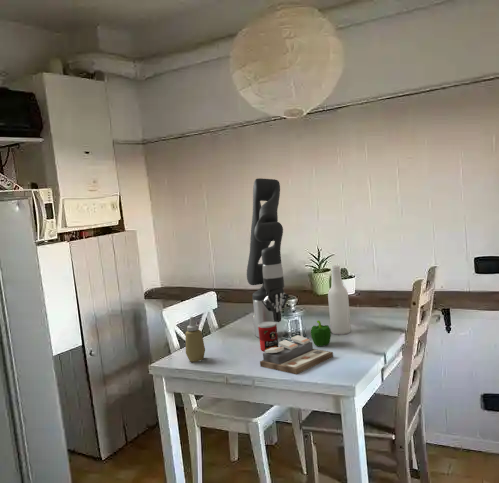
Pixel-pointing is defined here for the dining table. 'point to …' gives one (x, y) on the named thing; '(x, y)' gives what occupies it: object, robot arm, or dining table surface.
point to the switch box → (295, 358)
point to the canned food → (268, 335)
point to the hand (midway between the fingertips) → (277, 321)
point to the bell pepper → (321, 334)
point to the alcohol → (338, 304)
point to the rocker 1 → (274, 350)
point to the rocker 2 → (288, 344)
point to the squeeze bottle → (194, 342)
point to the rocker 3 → (300, 339)
